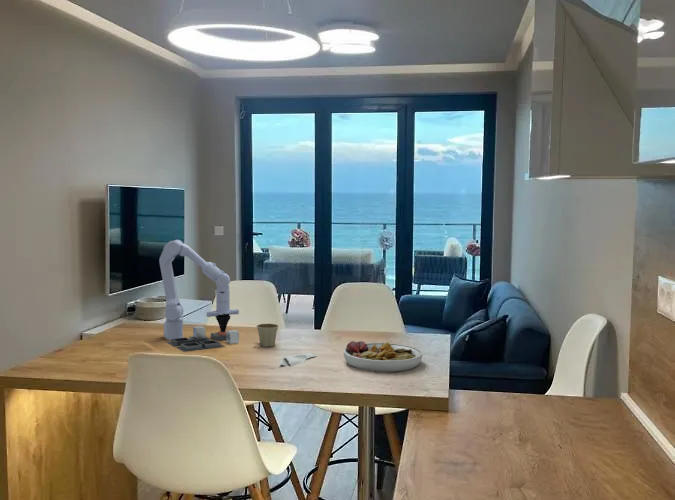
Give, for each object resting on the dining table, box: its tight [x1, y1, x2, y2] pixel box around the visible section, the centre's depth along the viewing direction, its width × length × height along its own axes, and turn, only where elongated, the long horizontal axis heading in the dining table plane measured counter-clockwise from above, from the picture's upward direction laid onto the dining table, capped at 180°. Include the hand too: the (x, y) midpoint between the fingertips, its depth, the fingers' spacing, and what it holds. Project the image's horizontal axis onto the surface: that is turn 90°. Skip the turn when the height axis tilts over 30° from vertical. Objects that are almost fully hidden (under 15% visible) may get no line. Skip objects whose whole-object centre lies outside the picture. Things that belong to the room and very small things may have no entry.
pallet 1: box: [165, 335, 211, 348], centre depth 269 cm, size 10×18×2 cm, turn 125°
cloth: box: [279, 352, 317, 369], centre depth 245 cm, size 26×14×2 cm, turn 139°
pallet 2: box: [175, 339, 226, 353], centre depth 260 cm, size 10×18×2 cm, turn 125°
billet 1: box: [192, 325, 206, 339], centre depth 271 cm, size 4×4×6 cm
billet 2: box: [225, 329, 240, 345], centre depth 269 cm, size 4×4×6 cm
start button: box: [218, 330, 227, 335], centre depth 278 cm, size 4×4×2 cm
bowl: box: [343, 340, 423, 373], centre depth 241 cm, size 30×30×8 cm
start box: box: [210, 332, 226, 342], centre depth 278 cm, size 8×8×3 cm
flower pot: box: [256, 323, 279, 348], centre depth 269 cm, size 9×9×9 cm
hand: (222, 331), depth 277 cm, fingers closed, pressing on start button
